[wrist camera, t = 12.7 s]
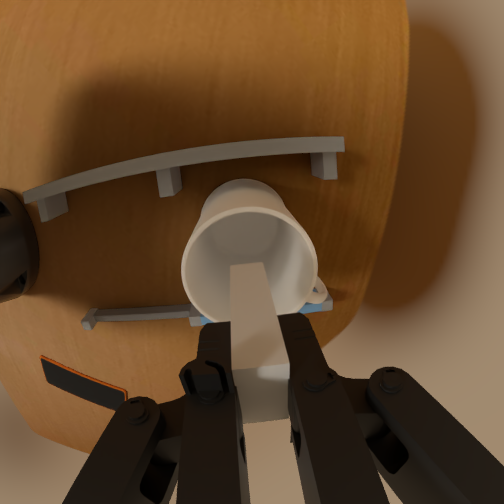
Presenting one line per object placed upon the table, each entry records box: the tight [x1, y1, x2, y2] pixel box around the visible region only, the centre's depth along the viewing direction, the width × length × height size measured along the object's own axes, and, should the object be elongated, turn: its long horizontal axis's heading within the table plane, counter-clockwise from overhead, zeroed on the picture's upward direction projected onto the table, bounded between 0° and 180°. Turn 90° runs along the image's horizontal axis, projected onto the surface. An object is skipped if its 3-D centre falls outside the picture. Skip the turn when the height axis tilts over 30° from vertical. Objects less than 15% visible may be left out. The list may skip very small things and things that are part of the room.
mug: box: [181, 179, 328, 322], centre depth 22 cm, size 12×8×12 cm
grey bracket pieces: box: [23, 137, 345, 330], centre depth 24 cm, size 29×17×6 cm, turn 96°
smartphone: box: [40, 355, 127, 411], centre depth 35 cm, size 8×17×1 cm, turn 72°
